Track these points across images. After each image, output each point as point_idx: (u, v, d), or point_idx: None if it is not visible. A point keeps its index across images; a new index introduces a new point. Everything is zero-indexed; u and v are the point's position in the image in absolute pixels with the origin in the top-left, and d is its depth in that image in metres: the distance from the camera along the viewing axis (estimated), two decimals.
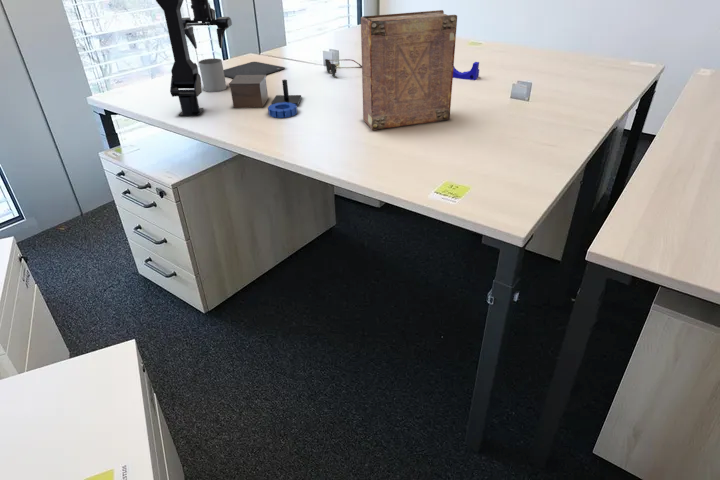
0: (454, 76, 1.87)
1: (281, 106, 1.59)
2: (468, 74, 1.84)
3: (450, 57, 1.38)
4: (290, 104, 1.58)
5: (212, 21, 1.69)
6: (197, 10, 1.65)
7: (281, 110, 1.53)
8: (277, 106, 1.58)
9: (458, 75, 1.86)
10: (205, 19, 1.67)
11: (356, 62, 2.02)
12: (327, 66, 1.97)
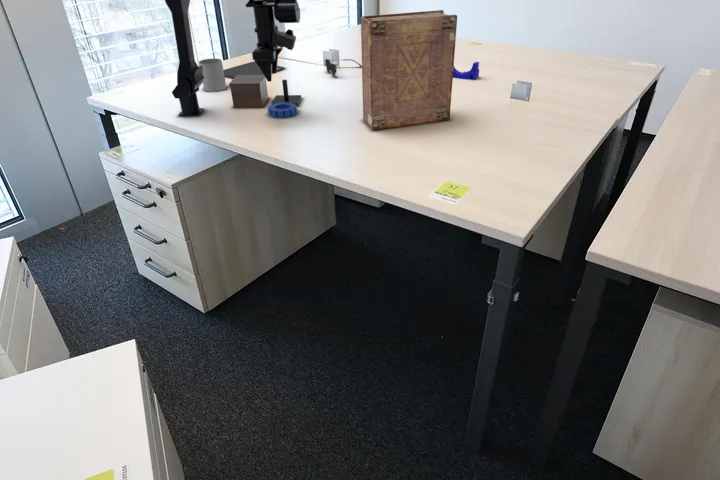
0: (454, 76, 1.87)
1: (281, 106, 1.59)
2: (468, 74, 1.84)
3: (450, 57, 1.38)
4: (290, 104, 1.58)
5: None
6: None
7: (281, 110, 1.53)
8: (277, 106, 1.58)
9: (458, 75, 1.86)
10: None
11: (356, 62, 2.02)
12: (327, 66, 1.97)
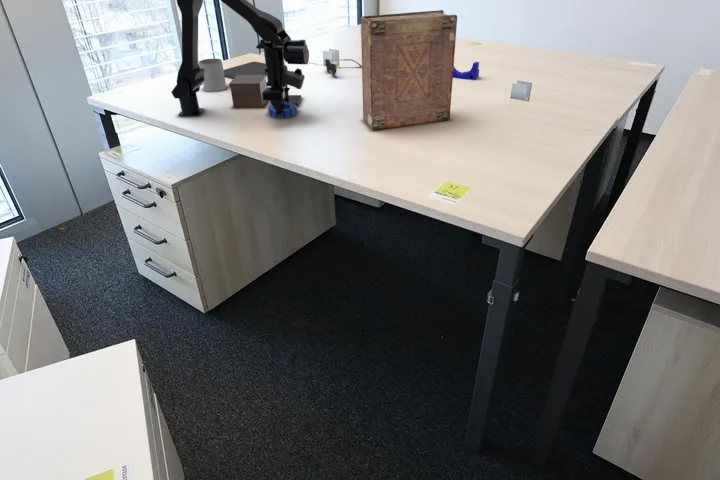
0: (454, 76, 1.87)
1: None
2: (468, 74, 1.84)
3: (450, 57, 1.38)
4: (290, 104, 1.58)
5: None
6: None
7: None
8: None
9: (458, 75, 1.86)
10: None
11: (356, 62, 2.02)
12: (327, 66, 1.97)
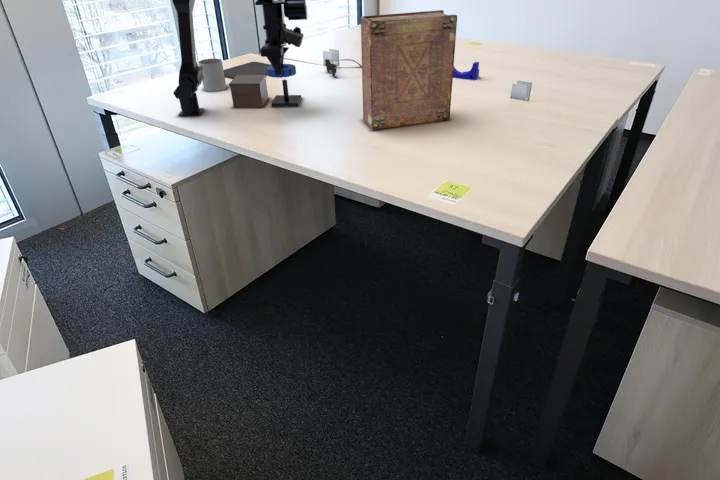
0: (454, 76, 1.87)
1: None
2: (468, 74, 1.84)
3: (450, 57, 1.38)
4: (289, 65, 1.57)
5: None
6: None
7: None
8: None
9: (458, 75, 1.86)
10: None
11: (356, 62, 2.02)
12: (327, 66, 1.97)
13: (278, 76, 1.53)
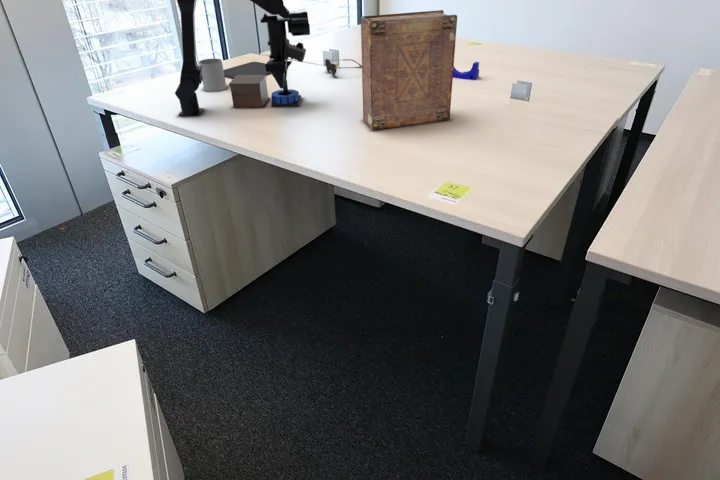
0: (454, 76, 1.87)
1: (283, 93, 1.67)
2: (468, 74, 1.84)
3: (450, 57, 1.38)
4: (292, 91, 1.66)
5: None
6: None
7: (285, 96, 1.61)
8: (280, 93, 1.66)
9: (458, 75, 1.86)
10: None
11: (356, 62, 2.02)
12: (327, 66, 1.97)
13: (283, 102, 1.62)
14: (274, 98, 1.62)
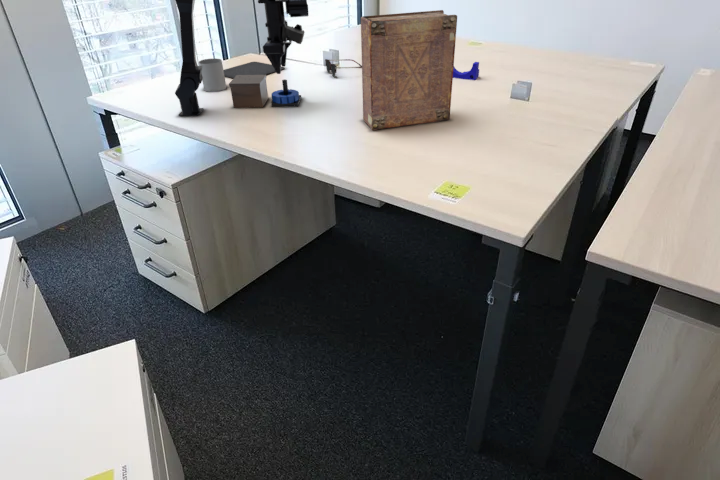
0: (454, 76, 1.87)
1: (283, 93, 1.67)
2: (468, 74, 1.84)
3: (450, 57, 1.38)
4: (292, 91, 1.66)
5: None
6: None
7: (285, 96, 1.61)
8: (280, 93, 1.66)
9: (458, 75, 1.86)
10: None
11: (356, 62, 2.02)
12: (327, 66, 1.97)
13: (283, 102, 1.62)
14: (274, 98, 1.62)
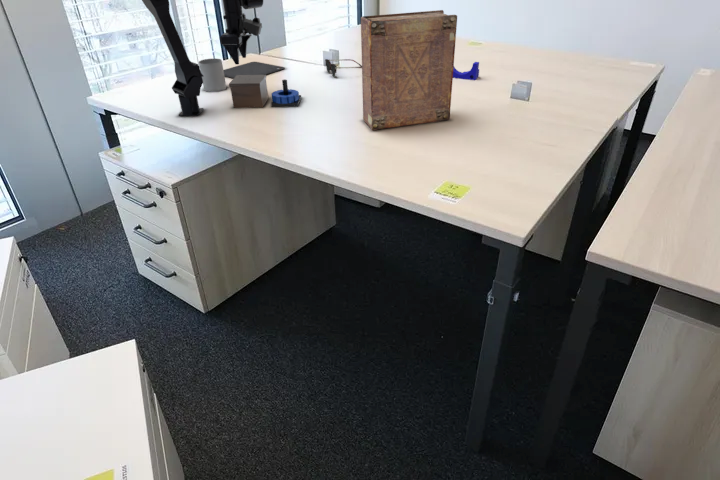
0: (454, 76, 1.87)
1: (283, 93, 1.67)
2: (468, 74, 1.84)
3: (450, 57, 1.38)
4: (292, 91, 1.66)
5: None
6: None
7: (285, 96, 1.61)
8: (280, 93, 1.66)
9: (458, 75, 1.86)
10: None
11: (356, 62, 2.02)
12: (327, 66, 1.97)
13: (283, 102, 1.62)
14: (274, 98, 1.62)
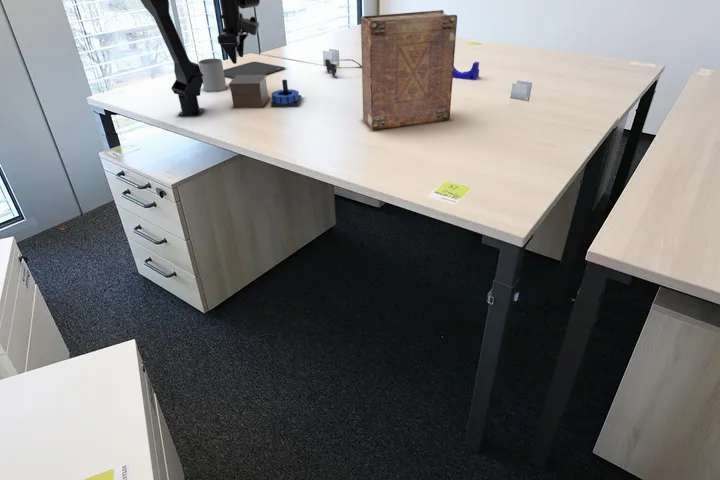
0: (454, 76, 1.87)
1: (283, 93, 1.67)
2: (468, 74, 1.84)
3: (450, 57, 1.38)
4: (292, 91, 1.66)
5: None
6: None
7: (285, 96, 1.61)
8: (280, 93, 1.66)
9: (458, 75, 1.86)
10: None
11: (356, 62, 2.02)
12: (327, 66, 1.97)
13: (283, 102, 1.62)
14: (274, 98, 1.62)
